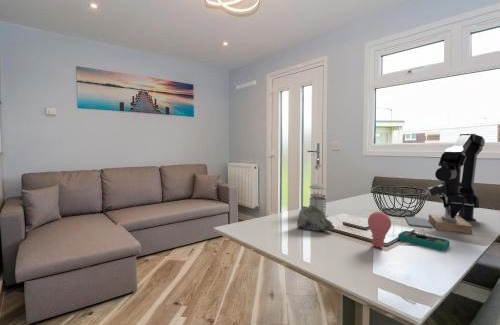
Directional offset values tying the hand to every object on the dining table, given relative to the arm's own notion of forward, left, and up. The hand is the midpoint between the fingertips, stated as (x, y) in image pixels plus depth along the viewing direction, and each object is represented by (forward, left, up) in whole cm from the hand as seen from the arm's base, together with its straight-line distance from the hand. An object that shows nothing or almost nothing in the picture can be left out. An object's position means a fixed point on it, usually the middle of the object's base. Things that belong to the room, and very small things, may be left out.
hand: (449, 215), depth 119 cm
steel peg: (0, 0, -5) cm, 5 cm away
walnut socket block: (0, 0, -5) cm, 5 cm away
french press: (+8, -55, -5) cm, 56 cm away
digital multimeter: (+30, -14, -5) cm, 33 cm away
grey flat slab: (0, -12, -5) cm, 12 cm away
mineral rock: (+32, -52, -5) cm, 61 cm away
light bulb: (+41, -29, -5) cm, 51 cm away
